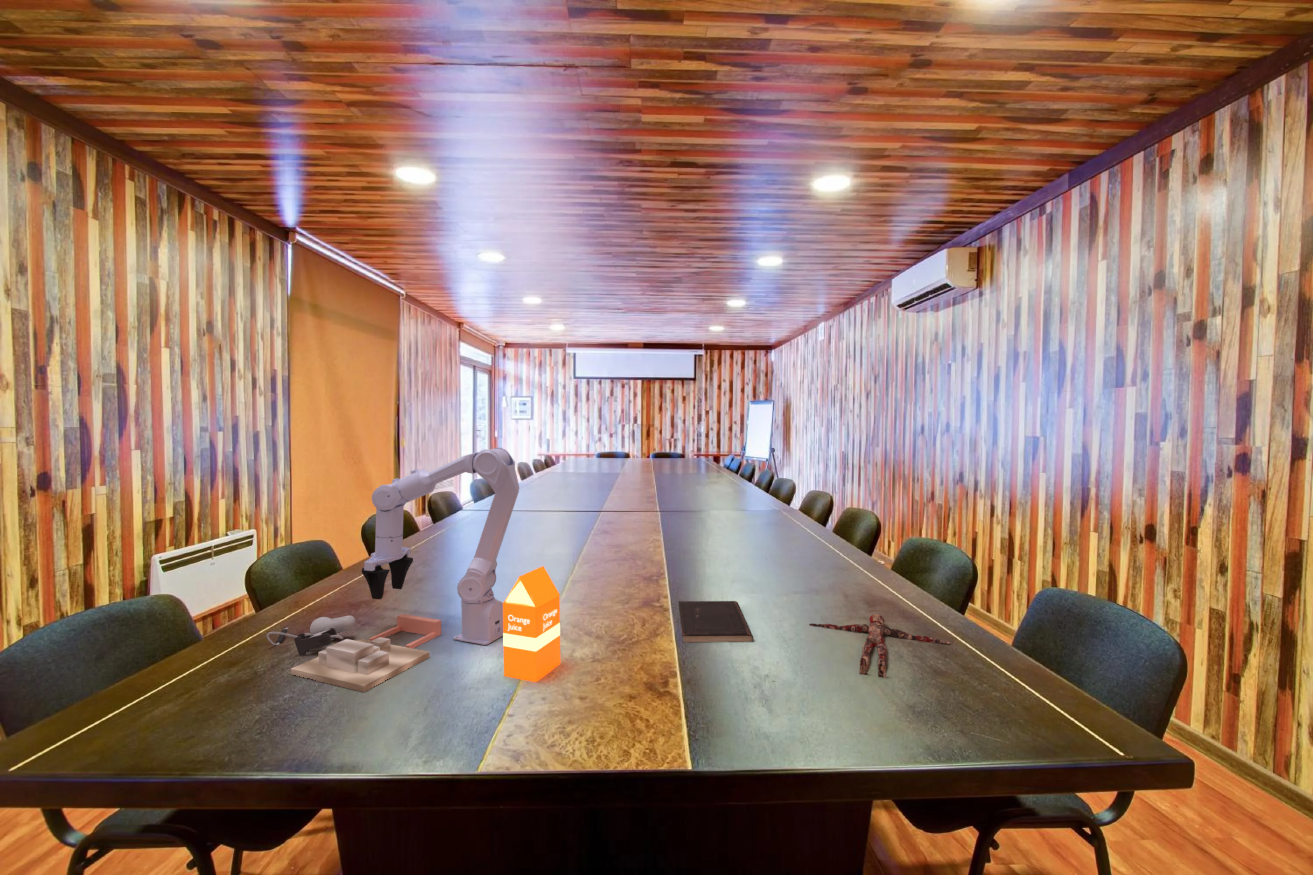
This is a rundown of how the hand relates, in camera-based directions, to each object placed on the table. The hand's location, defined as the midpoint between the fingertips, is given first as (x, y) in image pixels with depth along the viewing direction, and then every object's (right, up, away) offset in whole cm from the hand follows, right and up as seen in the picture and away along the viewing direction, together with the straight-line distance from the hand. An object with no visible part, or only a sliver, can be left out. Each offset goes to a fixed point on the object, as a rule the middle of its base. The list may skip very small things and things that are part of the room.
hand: (387, 593), depth 126 cm
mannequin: (+111, -11, -7) cm, 111 cm away
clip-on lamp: (-16, -11, -4) cm, 20 cm away
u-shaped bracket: (+4, -10, -1) cm, 11 cm away
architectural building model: (+2, -11, -15) cm, 18 cm away
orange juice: (+38, -11, -17) cm, 43 cm away
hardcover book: (+77, -10, +7) cm, 78 cm away
